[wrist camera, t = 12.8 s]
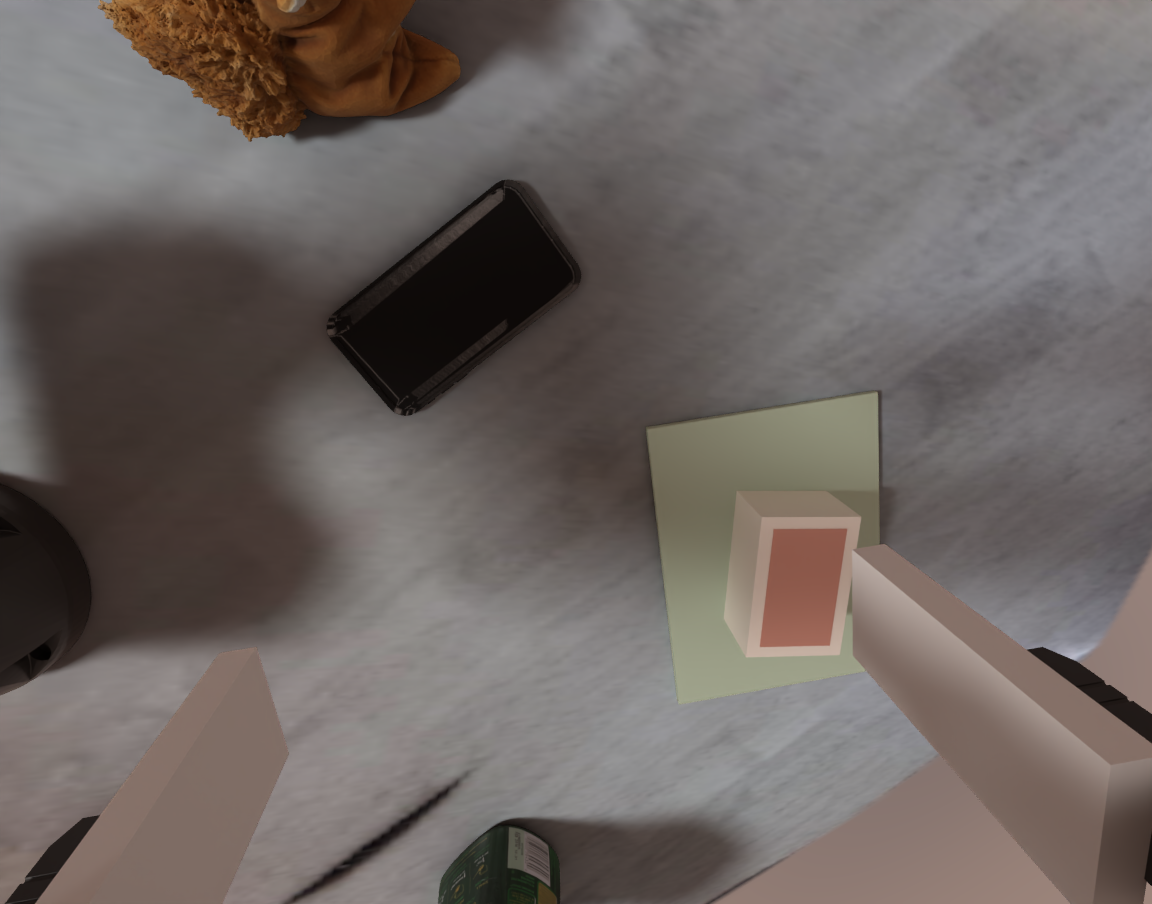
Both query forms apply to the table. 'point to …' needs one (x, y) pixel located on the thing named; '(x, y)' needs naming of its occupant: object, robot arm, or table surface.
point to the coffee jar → (503, 870)
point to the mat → (706, 513)
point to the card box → (790, 572)
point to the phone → (455, 299)
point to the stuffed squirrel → (288, 56)
